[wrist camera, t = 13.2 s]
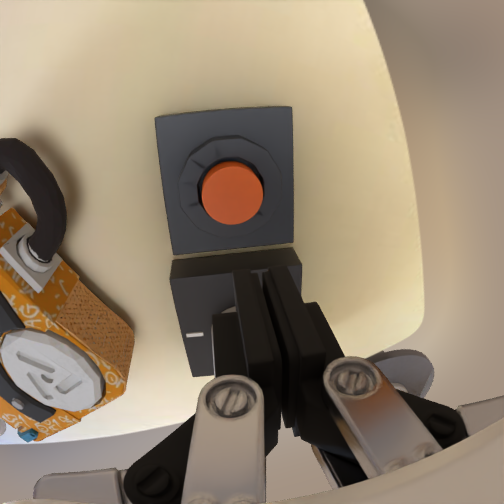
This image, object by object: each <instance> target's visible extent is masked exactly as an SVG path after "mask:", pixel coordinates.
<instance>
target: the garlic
mask: <svg viewBox="0 0 504 504" xmlns="http://www.w3.org/2000/svg"><path fill="white" fill-rule="evenodd" d="M5 430H6V424H5V421H4V420H2V419H1V418H0V436H1V435H3V434H4V432H5Z"/></svg>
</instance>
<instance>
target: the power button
mask: <svg viewBox="0 0 504 504" xmlns="http://www.w3.org/2000/svg"><path fill="white" fill-rule="evenodd" d="M262 200H263V189H262V185H261V183H260V181H259V179H258V178H257V176H256V175H255V173H254V172H253V171H252V170H251V169H250V168H249V167H248V166H247V165H245V164H243V163H240V162H237V161H226V162H222V163H219V164H217V165H215V166H214V167H213V168H211V169H210V170H209V171H208V173H207V174H206V176H205V178H204V180H203V184H202V202H203V206H204V208H205V210H206V212H207V213H208V214H209V215H210V216H211V217H212V218H213V219H214V220H216V221H218V222H220V223H223V224H229V225H234V224H240V223H243V222H245V221H247V220H249V219H250V218H252V217H253V216H254V215H255V214H256V213H257V211H258V210H259V208H260V206H261V204H262Z"/></svg>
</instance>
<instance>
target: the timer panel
mask: <svg viewBox="0 0 504 504" xmlns="http://www.w3.org/2000/svg"><path fill="white" fill-rule="evenodd" d="M279 265H286V266H287V267H288V270H289V272H290V274H291V276H292V278H293V280H294V282H295V284H296V287H297V289H298V291H299V293H300V295H301V285H302V263H301V262H300V260H299V258H298V256H297V255H296V253H295V251H294V249H293V248H283V249H273V250H264V251H255V252H245V253H236V254H227V255H218V256H208V257H199V258H190V259H181V260H173V261H172V266H171V273H170V279H169V280H170V285H171V289H172V294H173V299H174V303H175V308H176V312H177V316H178V321H179V325H180V329H181V333H182V337H183V341H184V345H185V349H186V353H187V357H188V361H189V365H190V369H191V372H192V376H193V377H200V376H211V375H214V363H213V349H212V334H211V328H212V314H219V313H222V312H223V311H225V310H227V309H229V308H232V307H235V297H234V286H233V275H232V270H241V269H250V271H251V273H257V274H258V277H259V280H260V284H261V287H262V272H266V271H268V267H270V266H279Z"/></svg>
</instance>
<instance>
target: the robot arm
mask: <svg viewBox="0 0 504 504" xmlns="http://www.w3.org/2000/svg"><path fill="white" fill-rule="evenodd" d="M232 275H233V286H234V297H235V308H236V312H229V313H219V314H212V327H213V346H214V363H215V378H214V379H213V380H211V381H210V382H208V383H207V384H206V385H205V386H204V387H203V388H202V390H201V392H200V394H199V397H198V403H197V409H196V413H195V414H194V415H193V416H192V417H191V418H189V419H188V420H187V421H186V422H185V423H183V424H182V425H181V426H180V427H179V428H178V429H176V430H175V431H174V432H173V433H171V434H170V435H169V436H168V437H167V438H165V439H164V440H163V441H162V442H160V443H159V444H158V445H157V446H156V447H154V448H153V449H152V450H150V451H149V452H148V453H146V454H145V455H144V456H143V457H141V458H140V459H139V460H138V461H136V462H135V463H134V464H133V465H132V466H131V467H130V468H129V469H125V470H119V471H118V470H117V469H116V468H109V469H101V470H92V471H82V472H69V473H52V474H48V475H44V476H43V477H42V478H40V479H39V480H38V481H37V483H36V485H35V487H34V492H33V499H26V500H17V501H11V502H6V503H3V504H504V396H500V397H496V398H492V399H488V400H484V401H479V402H475V403H470V404H465V405H460V406H458V407H457V409H456V410H454V409H452V408H450V407H448V406H445V405H442V404H438V403H436V402H432V401H429V400H426V399H423V398H420V397H417V396H415V395H412V394H409V393H408V392H407V390H406V388H405V387H404V386H403V385H402V384H399V383H390V382H389V380H388V379H387V378H386V377H385V375H384V374H383V373H382V372H381V370H380V369H379V368H378V367H377V366H376V365H375V364H374V363H373V362H371V361H369V360H367V359H364V358H360V357H353V356H347V357H345V356H344V354H343V352H342V350H341V348H340V346H339V344H338V342H337V340H336V338H335V336H334V334H333V332H332V330H331V328H330V326H329V324H328V322H327V320H326V318H325V316H324V314H323V312H322V310H321V309H320V307H319V305H318V303H317V302H311V303H304V302H303V300H302V297H301V295H300V293H299V291H298V289H297V287H296V284H295V282H294V280H293V278H292V276H291V274H290V272H289V270H288V267H287V266H286V265H279V266H270V267H268V271H266V272H262V287H261V284H260V280H259V277H258V274H257V273H251V271H250V269H241V270H232ZM281 413H282V417H283V421H284V424H285V427H286V428H291V427H292V429H293V433H294V436H295V437H297V436H300V437H301V439H302V440H304V441H306V442H308V443H310V444H311V447H312V450H313V452H314V454H315V456H316V458H317V460H318V462H319V464H320V466H321V468H322V470H323V472H324V474H325V476H326V478H327V480H328V482H329V484H330V486H331V487H332V489H333V490H330V491H325V492H321V493H317V494H313V495H309V496H303V497H298V498H293V499H287V500H282V501H275V502H269V503H266V456H267V455H268V454H269V453H270V451H271V450H272V449H273V448H274V447H275V446H276V445H277V443H278V430H279V429H280V428H281V427H280V426H281Z"/></svg>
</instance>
